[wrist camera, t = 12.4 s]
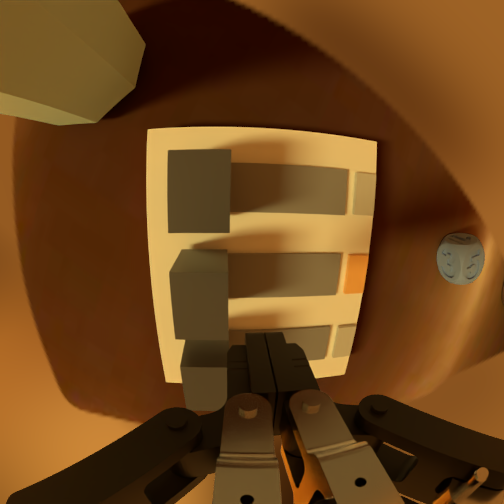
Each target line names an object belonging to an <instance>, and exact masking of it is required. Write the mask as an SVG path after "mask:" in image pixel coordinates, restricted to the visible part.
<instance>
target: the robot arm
mask: <svg viewBox="0 0 504 504" xmlns="http://www.w3.org/2000/svg"><path fill="white" fill-rule="evenodd" d="M502 300H503V304H504V285H503V292H502ZM274 435H281V439H282V446H281V454H282V457H283V461H284V464H285V468H286V471H287V474H288V477H289V481H290V484H291V487H292V490H293V495H294V504H418V503H416V502H414V501H412V500H409V499H407V498H405V497H403V496H400V495H399V493H401V494H403V495H406V496H408V497H410V498H413V499H415V500H418V501H420V502H423V503H426V504H502V502H503V499H504V440H501V439H498V438H494V437H492V436H488V435H485V434H482V433H479V432H476V431H473V430H470V429H467V428H464V427H462V426H459V425H456V424H453V423H451V422H448V421H445V420H443V419H440V418H437V417H435V416H432V415H430V414H427V413H424V412H422V411H420V410H417V409H415V408H413V407H410V406H408V405H405V404H403V403H401V402H398V401H396V400H394V399H391V398H389V397H387V396H383V395H370V396H367V397H365V398H363V399H362V400H361V402H360V403H359V405H344V404H338V403H335V402H333V401H332V399H331V398H330V397H329V396H328V395H327V394H326V393H324V392H322V391H320V389H319V386H318V384H317V382H316V379H315V377H314V374H313V372H312V369H311V367H310V364H309V362H308V360H307V357H306V355H305V352H304V350H303V349H302V348H301V347H300V346H299V345H297V344H296V343H286V340H285V337H284V334H283V332H264V333H263V332H255V333H245V345H232V346H231V347H230V349H229V350H228V352H227V400H226V403H225V404H224V406H223V407H222V408H220V409H219V410H217V411H216V412H213V413H210V414H206V415H201V416H198V415H197V414H196V413H194V412H193V411H191V410H189V409H186V408H179V407H176V408H169V409H166V410H163V411H162V412H160V413H159V414H157V415H156V416H154V417H153V418H151V419H149V420H148V421H146V422H145V423H143V424H142V425H140V426H139V427H137V428H135V429H134V430H133V431H131V432H129V433H128V434H126V435H124V436H123V437H121V438H119V439H118V440H116V441H115V442H113V443H111V444H109V445H108V446H106V447H104V448H102V449H101V450H99V451H97V452H95V453H94V454H92V455H90V456H88V457H86V458H85V459H83V460H81V461H79V462H78V463H75V464H74V465H72V466H70V467H68V468H66V469H64V470H62V471H60V472H58V473H56V474H54V475H52V476H50V477H48V478H46V479H44V480H42V481H40V482H37V483H35V484H33V485H31V486H29V487H26V488H24V489H22V490H19V491H17V492H15V493H13V494H12V495H10V497H9V498H8V500H7V502H6V504H175V503H176V502H177V501H178V500H180V499H181V498H182V497H183V496H185V495H186V494H187V493H188V492H190V491H191V490H192V489H193V488H194V487H195V486H197V485H198V484H199V483H200V482H201V481H202V480H203V479H205V477H206V476H207V475H208V474H211V473H215V482H214V491H213V501H212V504H282V502H281V489H280V476H279V464H278V459H277V458H275V450H274ZM383 442H386V443H389V444H391V445H393V446H395V447H397V448H400V449H402V450H404V451H407V452H409V453H411V454H413V455H415V456H410V455H407V454H404V453H402V452H400V451H398V450H396V449H393V448H391V447H389V446H387V445H385V444H383ZM398 492H399V493H398Z"/></svg>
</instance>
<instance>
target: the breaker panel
mask: <svg viewBox="0 0 504 504" xmlns="http://www.w3.org/2000/svg"><path fill="white" fill-rule="evenodd" d="M186 149H231V186H230V233H168V212H167V162H168V150H186ZM376 159H377V142H375V141H370V140H364V139H358V138H352V137H346V136H339V135H332V134H324V133H316V132H307V131H297V130H285V129H271V128H252V127H178V128H160V129H148V135H147V173H146V188H147V226H148V245H149V260H150V272H151V283H152V292H153V301H154V310H155V317H156V325H157V332H158V339H159V345H160V351H161V357H162V363H163V368H164V374H165V379H166V382H173V383H182V378H181V371H180V364H181V359H182V353H183V348H184V344H185V340H178V339H175V333H174V324H173V314H172V304H171V292H170V280H169V271H170V270H171V268H172V266H173V264H174V262H175V260H176V259H177V257H178V255H179V253H180V251H181V250H182V249H227V253H228V326H229V349H230V347H231V346H232V345H245V333H255V332H263V333H264V332H283V334H284V337H285V340H286V343H296V344H297V345H299V346H300V347H301V348H302V349H303V350H304V352H305V355H306V357H307V360H308V362H309V364H310V367H311V369H312V372H313V374H314V377H315V378H321V377H329V376H336V375H343V374H345V370H346V367H347V363H348V359H349V356H350V352H351V348H352V344H353V340H354V335H355V331H356V325H357V320H358V315H359V310H360V305H361V299H362V294H363V290H364V284H365V278H366V272H367V265H368V258H369V256H368V255H369V248H370V240H371V231H372V221H373V215H374V203H375V189H376Z"/></svg>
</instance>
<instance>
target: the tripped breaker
mask: <svg viewBox="0 0 504 504" xmlns="http://www.w3.org/2000/svg"><path fill="white" fill-rule="evenodd" d="M169 280H170V292H171V304H172V314H173V324H174V333H175V339H178V340H229V326H228V253H227V249H182V250H181V251H180V253H179V255H178V257H177V259H176V260H175V262H174V264H173V266H172V268H171V270H170V271H169Z"/></svg>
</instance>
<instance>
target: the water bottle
mask: <svg viewBox="0 0 504 504" xmlns="http://www.w3.org/2000/svg"><path fill="white" fill-rule="evenodd" d="M145 46H146V44H145V42H144V41H143V39H142V38H141V36H140V34H139V33H138V31H137V30H136V28H135V26H134V25H133V23H132V22H131V20H130V19H129V17H128V15H127V14H126V12H125V11H124V9H123V8H122V6H121V4H120V3H119V1H118V0H0V114H5V115H11V116H16V117H21V118H26V119H31V120H36V121H40V122H45V123H50V124H54V125H68V124H82V123H97V122H98V121H99V120H100V119H101V118H102V117H103V116H104V115H105V114H106V113H107V112H108V111H109V110H110V109H112V108H113V107H114V106H115V105H116V104H117V103H118V102H119V101H120V100H121V99H123V98H124V97H125V96H126V95H127V94H128V93H130V92H131V91H132V90H133V89H134V88H135V86H136V81H137V77H138V73H139V69H140V65H141V61H142V57H143V53H144V49H145Z"/></svg>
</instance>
